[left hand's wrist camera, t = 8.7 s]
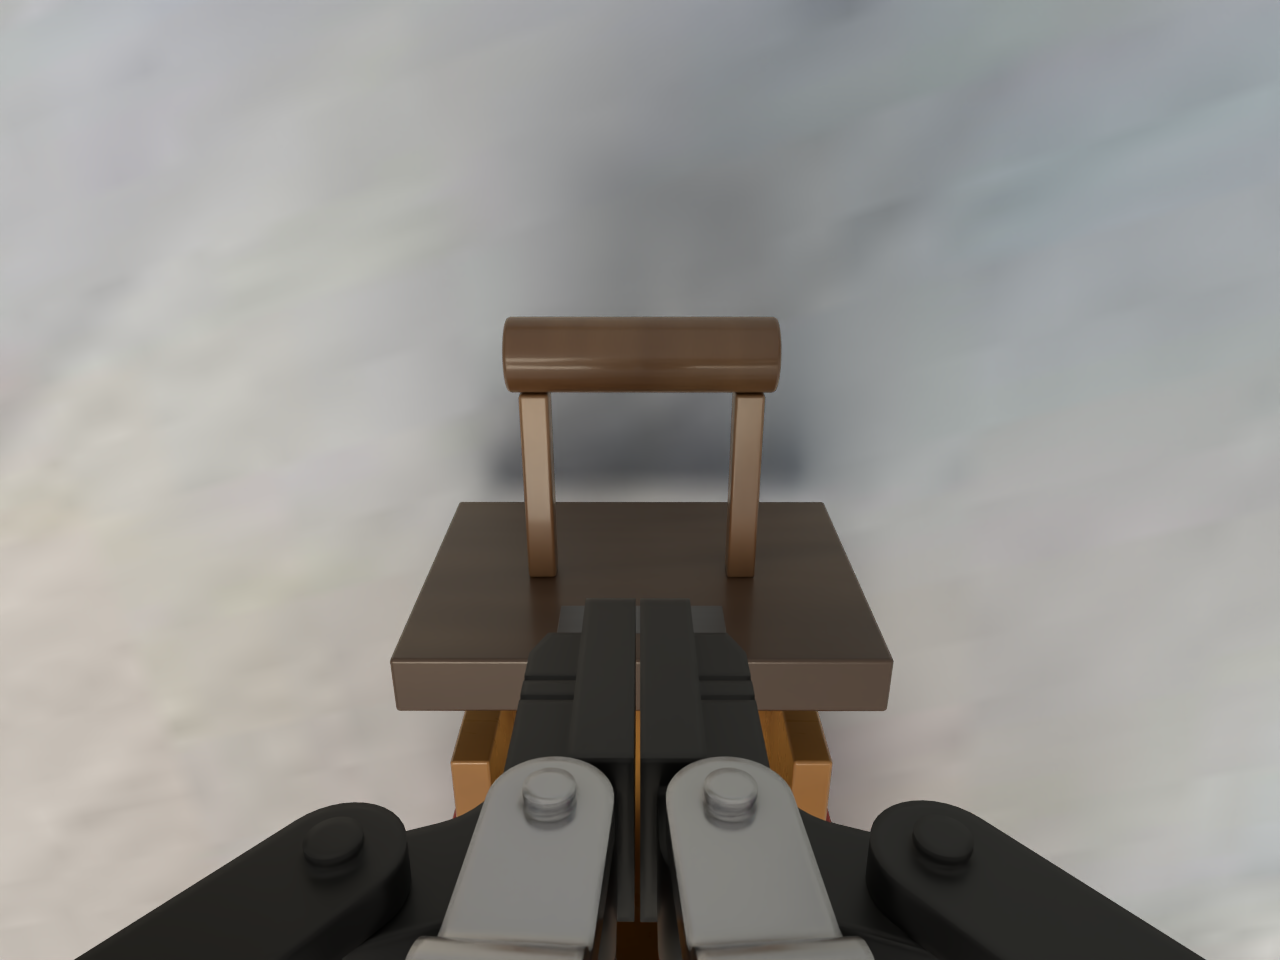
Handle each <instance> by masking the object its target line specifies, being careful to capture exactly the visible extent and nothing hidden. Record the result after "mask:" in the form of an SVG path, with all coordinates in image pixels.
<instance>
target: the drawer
mask: <svg viewBox="0 0 1280 960" xmlns="http://www.w3.org/2000/svg"><path fill="white" fill-rule="evenodd" d="M502 360H503V373H504V380H505V384H506V387H507V389H508V391H510V392H521V393H520V395H519V415H520V432H521V449H522V466H523V483H524V501H525V502H461V503H459V506H458V508H457V510H456V512H455V515H454V517H453V519H452V521H451V524H450V526H449V528H448V530H447V533H446V535H445V537H444V539H443V542H442V544H441V546H440V549H439V551H438V553H437V555H436V558H435V560H434V562H433V564H432V567H431V569H430V571H429V573H428V576H427V578H426V580H425V583H424V585H423V587H422V589H421V592H420V594H419V596H418V598H417V601H416V603H415V605H414V607H413V610H412V612H411V614H410V617H409V619H408V621H407V623H406V626H405V628H404V630H403V632H402V635H401V637H400V639H399V641H398V644H397V646H396V648H395V651H394V653H393V655H392V657H391V660H390V664H391V672H392V679H393V686H394V694H395V701H396V707H397V710H400V711H465V713H464V717H463V720H462V724H461V727H460V731H459V734H458V738H457V741H456V745H455V748H454V752H453V755H452V759H451V771H452V780H453V789H454V798H455V807H456V816H457V817H458V816H461V815H463V814H465V813H467V812H468V811H470V810H472V809H474V808H475V807H477V806H478V805H479V804H481V803H482V802H483V801H485V798H486V795H487V793H488V791H489V789H490V787H491V785H492V784H493V783H494V781H495V780H496V779H497V778H498V777H499V776H500V775H502V774H503V772H504V768H505V763H506V758H507V754H508V749H509V744H510V740H511V735H512V731H513V726H514V721H515V717H516V712H517V707H518V703H519V700H520V694H521V689H522V684H523V680H524V675H525V670H526V666H527V661H528V657H529V652H530V651H531V650H532V649H533V648H534V647H535V646H536V645H537V644H538V643H539V642H540V641H541V640H542V639H543V638H544V637H545V636H546V635H547V633H582V625H583V616H584V608H585V600H586V598H636V770H635V908H634V922H617V935H616V960H659V954H658V927H657V922H640V598H690V603H691V612H692V621H693V630H694V633H728V634H729V635H730V636H731V637H732V638H733V639H734V640H735V642H736V643H737V644H738V645H739V646H740V647H741V648H742V649H743V650H744V651H745V652H746V655H747V660H748V664H749V669H750V674H751V681H752V684H753V689H754V693H755V700H756V703H757V708H758V713H759V718H760V722H761V727H762V732H763V737H764V742H765V746H766V751H767V756H768V761H769V766H770V769H771V770H773V771H774V772H776V773H777V774H778V775H780V776H781V777H782V778H783V779H784V780H785V781H786V783H787V784H788V786H789V787H790V789H791V791H792V793H793V795H794V798H795V801H796V804H797V807H798V808H800V809H801V810H803V811H805V812H807V813H809V814H810V815H813V816H815V817H817V818H820V819H822V820H825V821H826V815H827V806H828V798H829V789H830V780H831V771H832V759H831V756H830V752H829V749H828V745H827V742H826V738H825V735H824V731H823V728H822V724H821V721H820V717H819V714H818V711H885V710H886V709H887V704H888V697H889V690H890V683H891V675H892V668H893V659H892V657H891V654H890V652H889V650H888V648H887V645H886V643H885V641H884V639H883V636H882V634H881V632H880V630H879V627H878V625H877V623H876V620H875V618H874V616H873V614H872V611H871V609H870V607H869V605H868V602H867V600H866V598H865V596H864V593H863V591H862V589H861V587H860V584H859V582H858V580H857V578H856V575H855V573H854V571H853V569H852V566H851V564H850V562H849V560H848V557H847V555H846V553H845V551H844V548H843V546H842V544H841V542H840V539H839V537H838V535H837V533H836V530H835V528H834V526H833V524H832V521H831V519H830V517H829V515H828V512H827V510H826V508H825V506H824V503H822V502H759V491H760V475H761V458H762V442H763V425H764V408H765V396H764V393H772V392H774V391H776V389H777V386H778V383H779V378H780V370H781V332H780V326H779V322H778V320H777V318H775V317H509V318H507V319H506V321H505V324H504V329H503V341H502ZM551 392H599V393H733V394H732V416H731V439H730V461H729V483H728V502H556V501H555V477H554V454H553V430H552V407H551Z"/></svg>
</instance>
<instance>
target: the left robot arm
mask: <svg viewBox="0 0 1280 960" xmlns="http://www.w3.org/2000/svg"><path fill="white" fill-rule="evenodd" d="M635 770H636V598H586V600H585V608H584V616H583V625H582V633H547V635H546V636H545V637H544V638H543V639H542V640H541V641H540V642H539V643H538V644H537V645H536V646H535V647H534V648H533V649H532V650H531V651H530V652H529V657H528V661H527V666H526V670H525V675H524V680H523V684H522V689H521V694H520V700H519V703H518V707H517V712H516V717H515V721H514V726H513V731H512V735H511V740H510V744H509V749H508V754H507V758H506V763H505V768H504V772H503V774H502V775H500V776H499V777H498V778H497V779H496V780H495V781H494V783H493V784H492V785H491V787H490V789H489V791H488V793H487V795H486V798H485V801H483V802H482V803H481V804H479V805H478V806H477V807H475V808H474V809H472V810H470V811H468V812H467V813H465V814H463V815H461V816H458V817H456V818H453V819H451V820H448V821H444V822H441V823H437V824H433V825H429V826H425V827H421V828H417V829H413V830H409V831H406V830H405V827H404V825H403V823H402V822H401V820H400V819H399V817H397V816H396V815H395V814H394V813H393V812H391V811H390V810H388V809H386V808H384V807H381V806H378V805H375V804H369V803H357V802H353V803H342V804H336V805H331V806H328V807H324V808H321V809H318V810H316V811H313V812H311V813H309V814H307V815H305V816H303V817H301V818H299V819H298V820H296V821H294V822H293V823H291V824H289V825H288V826H286V827H285V828H283V829H281V830H280V831H278V832H277V833H275V834H274V835H272V836H270V837H269V838H267V839H266V840H264V841H262V842H261V843H259V844H258V845H256V846H254V847H253V848H251V849H250V850H248V851H246V852H245V853H243V854H242V855H240V856H239V857H237V858H235V859H234V860H232V861H231V862H229V863H227V864H226V865H224V866H223V867H221V868H219V869H218V870H216V871H215V872H213V873H211V874H210V875H208V876H207V877H205V878H204V879H202V880H200V881H199V882H197V883H196V884H194V885H192V886H191V887H189V888H188V889H186V890H184V891H183V892H181V893H180V894H178V895H176V896H175V897H173V898H172V899H170V900H169V901H167V902H165V903H164V904H162V905H161V906H159V907H157V908H156V909H154V910H153V911H151V912H149V913H148V914H146V915H145V916H143V917H141V918H140V919H138V920H137V921H135V922H134V923H132V924H130V925H129V926H127V927H126V928H124V929H122V930H121V931H119V932H118V933H116V934H114V935H113V936H111V937H110V938H108V939H106V940H105V941H103V942H102V943H100V944H99V945H97V946H95V947H94V948H92V949H91V950H89V951H87V952H86V953H84V954H83V955H81V956H79V957H78V958H76V959H75V960H616V935H617V922H634V908H635ZM640 922H657V927H658V954H659V960H1205V959H1204V958H1202V957H1201V956H1199V955H1197V954H1196V953H1194V952H1193V951H1191V950H1189V949H1188V948H1186V947H1185V946H1183V945H1181V944H1180V943H1178V942H1177V941H1175V940H1174V939H1172V938H1170V937H1169V936H1167V935H1166V934H1164V933H1162V932H1161V931H1159V930H1158V929H1156V928H1154V927H1153V926H1151V925H1150V924H1148V923H1146V922H1145V921H1143V920H1142V919H1140V918H1139V917H1137V916H1135V915H1134V914H1132V913H1131V912H1129V911H1127V910H1126V909H1124V908H1123V907H1121V906H1119V905H1118V904H1116V903H1115V902H1113V901H1111V900H1110V899H1108V898H1107V897H1105V896H1104V895H1102V894H1100V893H1099V892H1097V891H1096V890H1094V889H1092V888H1091V887H1089V886H1088V885H1086V884H1084V883H1083V882H1081V881H1080V880H1078V879H1076V878H1075V877H1073V876H1072V875H1070V874H1069V873H1067V872H1065V871H1064V870H1062V869H1061V868H1059V867H1057V866H1056V865H1054V864H1053V863H1051V862H1049V861H1048V860H1046V859H1045V858H1043V857H1041V856H1040V855H1038V854H1037V853H1035V852H1034V851H1032V850H1030V849H1029V848H1027V847H1026V846H1024V845H1022V844H1021V843H1019V842H1018V841H1016V840H1014V839H1013V838H1011V837H1010V836H1008V835H1006V834H1005V833H1003V832H1002V831H1000V830H999V829H997V828H995V827H994V826H992V825H991V824H989V823H987V822H986V821H984V820H983V819H981V818H979V817H977V816H976V815H974V814H972V813H970V812H968V811H966V810H963V809H961V808H959V807H956V806H952V805H949V804H945V803H940V802H935V801H924V800H921V801H908V802H902V803H899V804H896V805H893V806H891V807H889V808H887V809H886V810H884V811H883V812H882V813H881V814H880V815H878V817H877V818H876V820H875V821H874V822H873V825H872V828H871V832H868V831H864V830H860V829H855V828H851V827H847V826H843V825H839V824H835V823H832V822H828V821H825V820H822V819H820V818H817V817H815V816H813V815H810V814H809V813H807V812H805V811H803V810H801V809H800V808H798V807H797V804H796V801H795V798H794V795H793V793H792V791H791V789H790V787H789V786H788V784H787V783H786V781H785V780H784V779H783V778H782V777H781V776H780V775H778V774H777V773H776V772H774V771H773V770H771V769H770V766H769V761H768V756H767V751H766V746H765V742H764V737H763V732H762V727H761V722H760V718H759V713H758V708H757V703H756V700H755V693H754V689H753V684H752V681H751V674H750V669H749V664H748V660H747V655H746V652H745V651H744V650H743V649H742V648H741V647H740V646H739V645H738V644H737V643H736V642H735V640H734V639H733V638H732V637H731V636H730V635H729V634H728V633H694V630H693V621H692V612H691V603H690V598H640Z"/></svg>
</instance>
